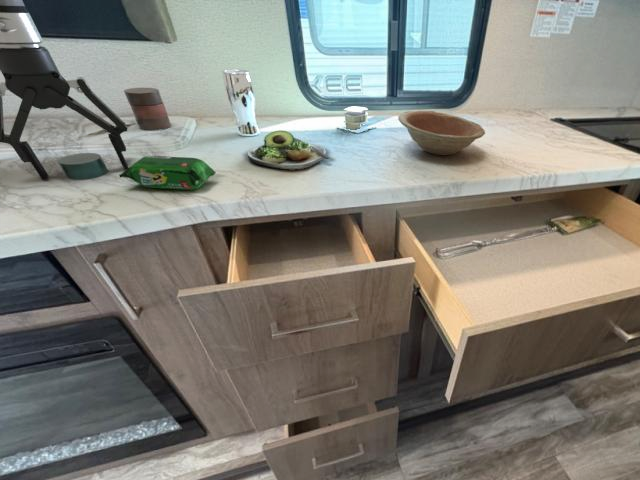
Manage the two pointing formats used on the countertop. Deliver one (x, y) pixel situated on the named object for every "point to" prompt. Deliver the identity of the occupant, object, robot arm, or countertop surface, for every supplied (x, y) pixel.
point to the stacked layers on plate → (355, 117)
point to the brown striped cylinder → (148, 108)
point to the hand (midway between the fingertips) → (87, 172)
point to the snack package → (169, 172)
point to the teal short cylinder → (83, 165)
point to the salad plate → (286, 152)
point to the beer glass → (241, 100)
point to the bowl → (440, 131)
